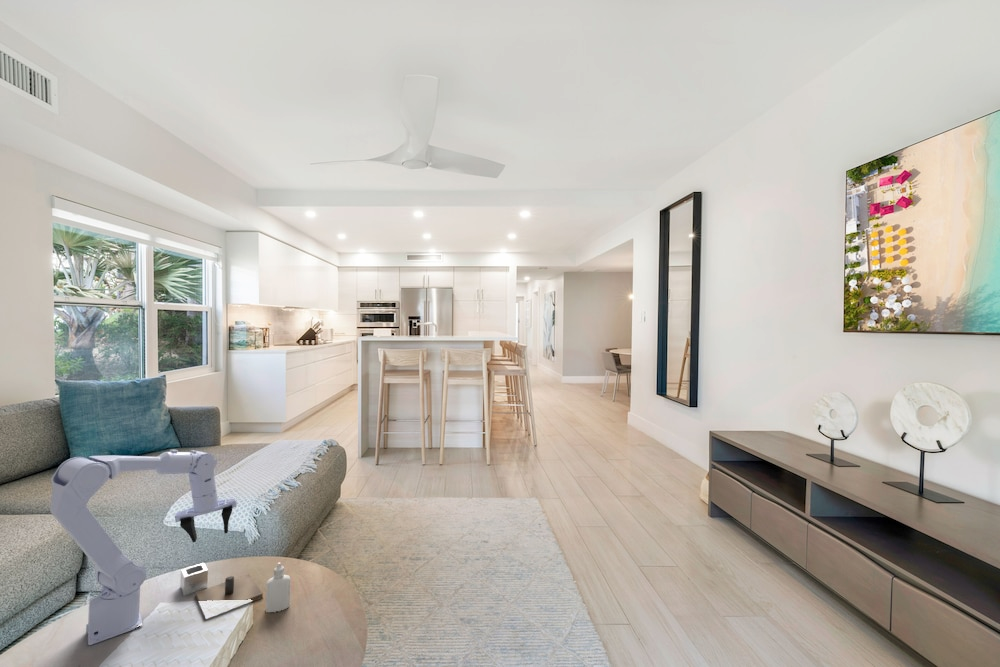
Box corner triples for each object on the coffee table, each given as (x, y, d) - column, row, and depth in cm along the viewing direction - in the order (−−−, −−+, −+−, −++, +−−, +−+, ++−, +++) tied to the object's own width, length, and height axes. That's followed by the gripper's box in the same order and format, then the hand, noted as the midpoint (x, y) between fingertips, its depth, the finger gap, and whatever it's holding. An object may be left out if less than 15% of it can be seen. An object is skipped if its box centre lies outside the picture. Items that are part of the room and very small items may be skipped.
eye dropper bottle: (272, 602, 112) (273, 558, 112) (292, 603, 111) (293, 559, 112) (262, 613, 107) (263, 567, 107) (283, 614, 107) (285, 568, 107)
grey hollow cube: (183, 595, 114) (184, 577, 114) (180, 587, 117) (181, 569, 117) (207, 587, 117) (207, 569, 118) (203, 579, 121) (203, 562, 121)
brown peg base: (205, 620, 104) (206, 599, 104) (195, 596, 113) (196, 577, 113) (262, 597, 114) (263, 578, 114) (248, 578, 123) (249, 560, 123)
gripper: (235, 479, 125) (240, 521, 127) (175, 493, 118) (182, 536, 120) (232, 489, 119) (239, 533, 121) (170, 504, 112) (177, 550, 114)
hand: (210, 535), depth 120 cm, fingers open, 7 cm apart
